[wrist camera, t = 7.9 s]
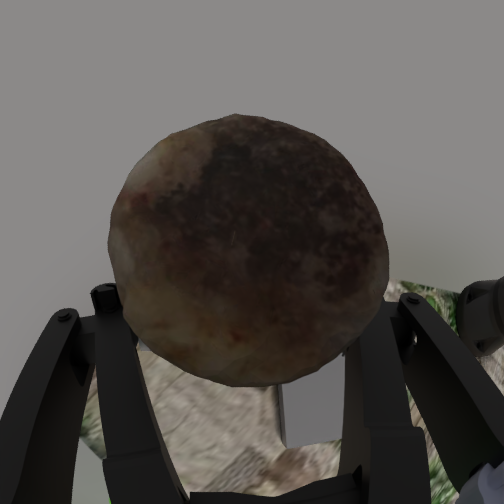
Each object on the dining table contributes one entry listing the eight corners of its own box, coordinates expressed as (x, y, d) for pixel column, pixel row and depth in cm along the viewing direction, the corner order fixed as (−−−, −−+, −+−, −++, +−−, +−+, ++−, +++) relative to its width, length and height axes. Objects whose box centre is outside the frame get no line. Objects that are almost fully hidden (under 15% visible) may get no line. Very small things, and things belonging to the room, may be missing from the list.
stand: (355, 351, 37) (365, 348, 35) (362, 427, 33) (372, 429, 30) (275, 361, 36) (279, 360, 33) (282, 443, 31) (286, 448, 28)
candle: (273, 297, 26) (359, 120, 8) (280, 376, 23) (432, 368, 5) (190, 300, 25) (111, 121, 7) (192, 380, 22) (61, 393, 4)
